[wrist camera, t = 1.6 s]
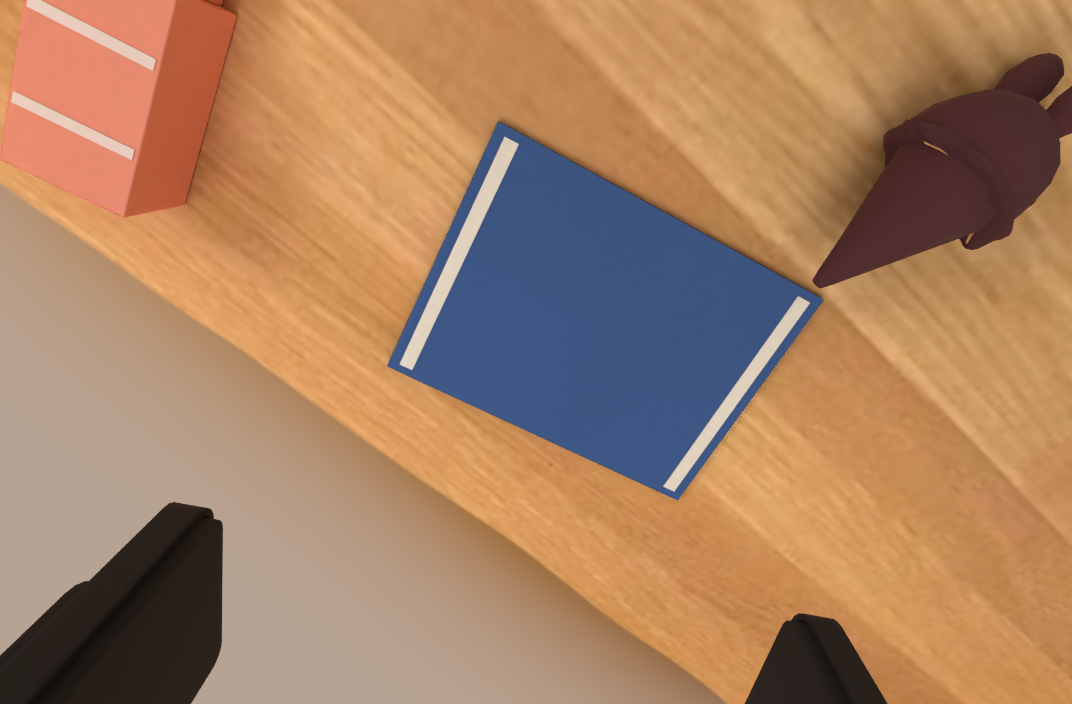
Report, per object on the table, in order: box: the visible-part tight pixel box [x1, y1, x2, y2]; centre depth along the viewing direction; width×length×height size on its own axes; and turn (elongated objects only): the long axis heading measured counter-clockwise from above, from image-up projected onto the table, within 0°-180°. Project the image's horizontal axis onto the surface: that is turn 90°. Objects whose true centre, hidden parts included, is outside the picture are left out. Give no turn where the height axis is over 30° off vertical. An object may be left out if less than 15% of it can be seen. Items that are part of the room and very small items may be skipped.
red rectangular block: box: [0, 0, 237, 217], centre depth 26 cm, size 13×6×5 cm, turn 153°
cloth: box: [388, 122, 823, 500], centre depth 33 cm, size 15×20×1 cm
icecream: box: [813, 53, 1072, 288], centre depth 26 cm, size 7×7×15 cm
